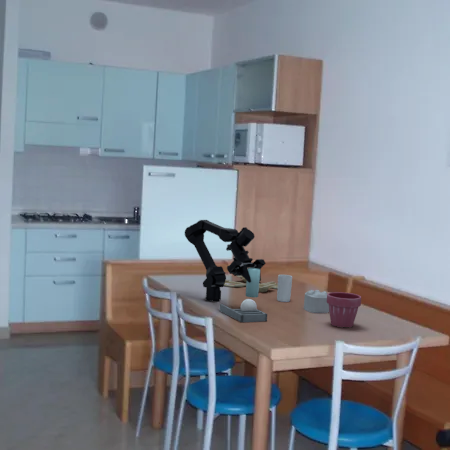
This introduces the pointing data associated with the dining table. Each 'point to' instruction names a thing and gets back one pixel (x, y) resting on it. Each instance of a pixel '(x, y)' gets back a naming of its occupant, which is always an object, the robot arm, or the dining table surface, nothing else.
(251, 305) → the white half-round piece
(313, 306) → the lumpy-topped squat cylinder
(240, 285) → the tableware set
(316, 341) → the dining table surface
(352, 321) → the plant pot
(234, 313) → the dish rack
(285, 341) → the dining table surface
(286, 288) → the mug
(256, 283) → the aqua tapered cylinder
